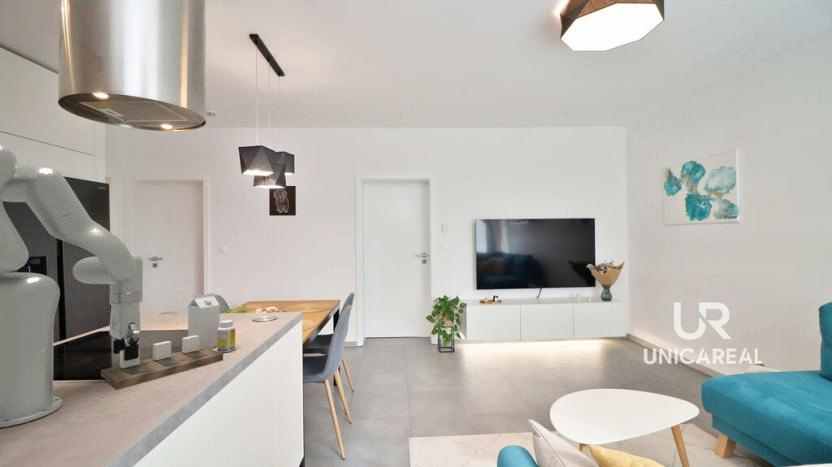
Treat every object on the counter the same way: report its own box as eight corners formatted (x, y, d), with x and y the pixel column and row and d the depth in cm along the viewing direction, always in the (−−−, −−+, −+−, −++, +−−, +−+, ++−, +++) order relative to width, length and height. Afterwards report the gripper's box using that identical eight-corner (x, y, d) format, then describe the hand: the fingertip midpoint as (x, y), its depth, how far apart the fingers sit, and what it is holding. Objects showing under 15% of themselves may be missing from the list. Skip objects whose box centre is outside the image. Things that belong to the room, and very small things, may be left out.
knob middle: (155, 360, 107) (156, 345, 107) (152, 358, 108) (153, 344, 108) (171, 356, 110) (171, 342, 110) (167, 355, 112) (168, 340, 112)
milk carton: (187, 348, 126) (188, 295, 126) (207, 343, 132) (207, 292, 132) (199, 351, 123) (200, 296, 123) (219, 346, 129) (219, 293, 129)
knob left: (122, 368, 100) (122, 352, 100) (119, 366, 102) (119, 350, 102) (139, 364, 104) (139, 348, 104) (136, 362, 105) (136, 347, 105)
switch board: (117, 389, 92) (117, 381, 92) (100, 376, 100) (101, 369, 101) (223, 360, 114) (223, 353, 114) (202, 351, 123) (202, 345, 123)
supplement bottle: (233, 346, 128) (233, 318, 128) (236, 351, 124) (236, 321, 124) (216, 349, 125) (216, 320, 125) (218, 354, 120) (218, 323, 120)
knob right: (185, 353, 113) (185, 339, 113) (182, 351, 115) (182, 337, 115) (198, 350, 117) (198, 336, 117) (195, 348, 118) (195, 335, 118)
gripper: (101, 296, 107) (100, 353, 106) (120, 302, 97) (119, 366, 96) (131, 293, 113) (131, 347, 113) (152, 299, 103) (152, 358, 103)
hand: (125, 356), depth 104 cm, fingers open, 9 cm apart
